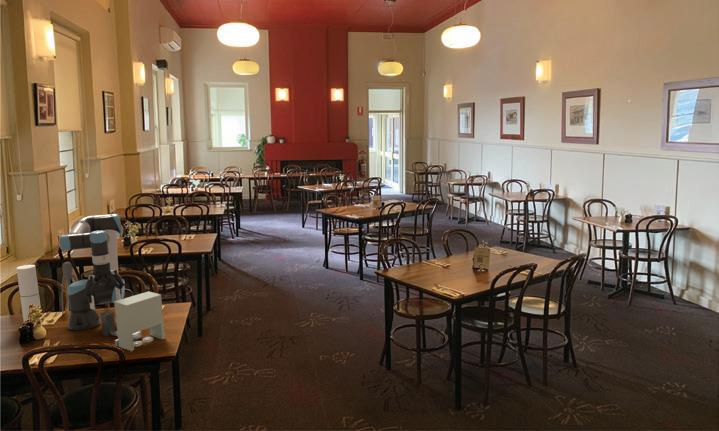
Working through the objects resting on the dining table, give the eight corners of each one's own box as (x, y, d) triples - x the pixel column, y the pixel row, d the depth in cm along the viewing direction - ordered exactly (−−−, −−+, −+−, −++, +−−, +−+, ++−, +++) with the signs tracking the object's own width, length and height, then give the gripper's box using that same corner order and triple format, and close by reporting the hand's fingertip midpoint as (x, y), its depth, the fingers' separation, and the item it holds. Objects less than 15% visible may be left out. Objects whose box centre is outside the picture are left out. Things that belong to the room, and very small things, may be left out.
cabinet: (119, 346, 272) (114, 301, 268) (152, 334, 286) (148, 291, 282) (131, 351, 266) (126, 305, 262) (165, 338, 280) (160, 294, 277)
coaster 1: (129, 345, 274) (128, 343, 273) (138, 342, 277) (138, 340, 277) (135, 348, 271) (134, 345, 270) (144, 344, 274) (144, 342, 274)
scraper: (94, 337, 284) (91, 316, 282) (118, 329, 294) (116, 308, 292) (116, 346, 272) (114, 324, 270) (141, 337, 283) (139, 316, 281)
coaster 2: (140, 341, 278) (140, 339, 278) (149, 338, 282) (149, 336, 282) (146, 344, 275) (146, 341, 275) (155, 340, 279) (155, 338, 279)
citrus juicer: (71, 319, 312) (65, 264, 306) (55, 318, 313) (48, 264, 308) (85, 312, 323) (79, 259, 317) (69, 311, 324) (63, 259, 319)
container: (21, 321, 310) (14, 267, 305) (39, 317, 316) (32, 263, 311) (26, 325, 304) (19, 270, 299) (44, 321, 310) (37, 266, 305)
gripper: (80, 269, 269) (85, 313, 273) (129, 258, 289) (133, 299, 292) (71, 267, 274) (77, 311, 277) (120, 256, 293) (124, 297, 297)
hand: (106, 305), depth 285 cm, fingers open, 13 cm apart
